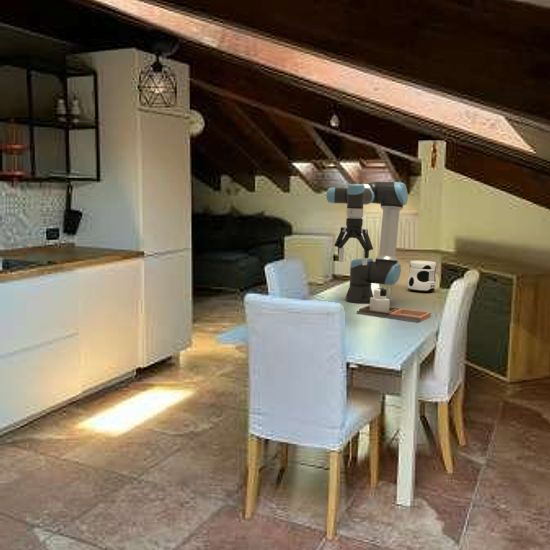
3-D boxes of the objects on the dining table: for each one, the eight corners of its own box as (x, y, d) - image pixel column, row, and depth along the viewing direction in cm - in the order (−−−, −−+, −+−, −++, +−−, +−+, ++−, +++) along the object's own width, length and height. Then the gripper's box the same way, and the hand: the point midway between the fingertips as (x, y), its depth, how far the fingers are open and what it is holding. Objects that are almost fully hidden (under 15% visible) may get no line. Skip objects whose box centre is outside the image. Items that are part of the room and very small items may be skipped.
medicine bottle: (381, 310, 305) (382, 287, 303) (389, 313, 298) (390, 289, 297) (369, 311, 302) (370, 287, 301) (376, 314, 296) (377, 290, 294)
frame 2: (401, 312, 302) (401, 308, 302) (430, 316, 294) (430, 312, 294) (389, 317, 290) (389, 313, 289) (420, 321, 282) (420, 317, 281)
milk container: (407, 288, 381) (408, 259, 379) (435, 290, 377) (437, 261, 374) (405, 292, 364) (407, 262, 362) (435, 294, 360) (437, 264, 358)
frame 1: (371, 308, 311) (371, 304, 310) (399, 312, 303) (399, 308, 302) (358, 312, 298) (359, 308, 298) (387, 317, 290) (387, 312, 290)
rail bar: (358, 313, 298) (358, 310, 297) (419, 321, 281) (420, 319, 281) (356, 313, 296) (356, 311, 296) (418, 322, 280) (418, 320, 279)
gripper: (328, 216, 285) (326, 261, 288) (372, 219, 268) (370, 267, 271) (338, 216, 291) (336, 260, 294) (382, 219, 274) (379, 265, 277)
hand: (352, 263), depth 283 cm, fingers open, 13 cm apart
